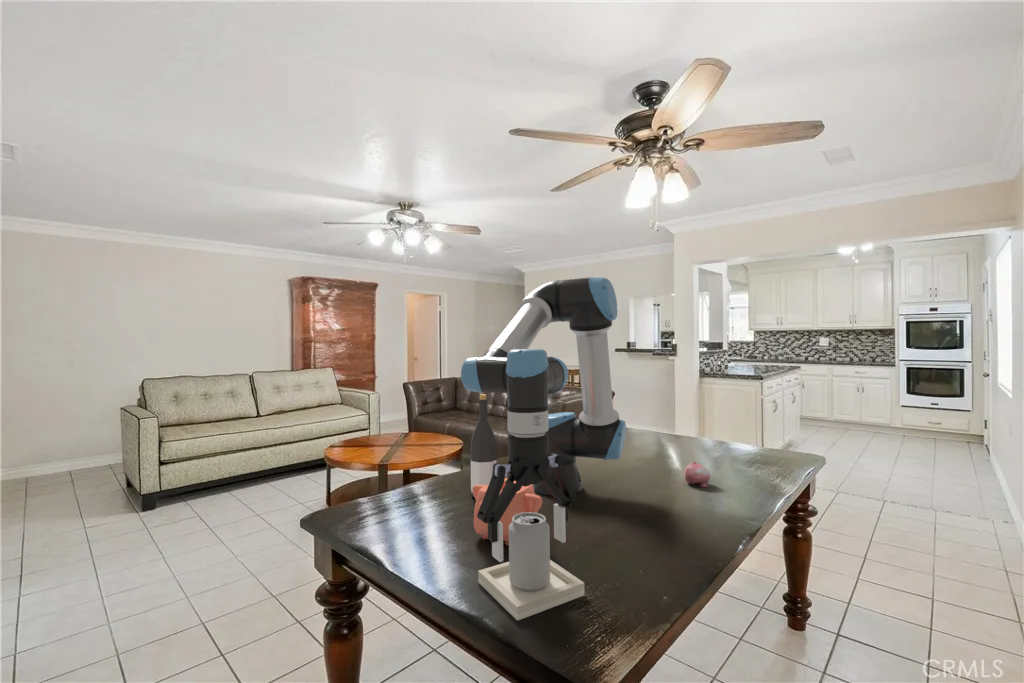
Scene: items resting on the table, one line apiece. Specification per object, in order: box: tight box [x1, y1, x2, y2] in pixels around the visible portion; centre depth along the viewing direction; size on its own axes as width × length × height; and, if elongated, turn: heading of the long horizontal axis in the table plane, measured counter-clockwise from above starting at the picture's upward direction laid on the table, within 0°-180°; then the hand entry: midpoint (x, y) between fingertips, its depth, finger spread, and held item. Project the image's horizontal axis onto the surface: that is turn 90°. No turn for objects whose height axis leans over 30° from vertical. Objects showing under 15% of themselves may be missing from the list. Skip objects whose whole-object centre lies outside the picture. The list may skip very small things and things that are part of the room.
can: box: [508, 512, 551, 592], centre depth 83 cm, size 8×8×12 cm
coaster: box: [477, 559, 586, 621], centre depth 83 cm, size 14×14×2 cm
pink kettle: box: [472, 477, 543, 547], centre depth 107 cm, size 17×16×13 cm
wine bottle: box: [470, 393, 498, 497], centre depth 135 cm, size 8×8×30 cm
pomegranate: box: [684, 461, 711, 488], centre depth 142 cm, size 8×8×7 cm
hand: (530, 549), depth 83 cm, fingers open, 13 cm apart
